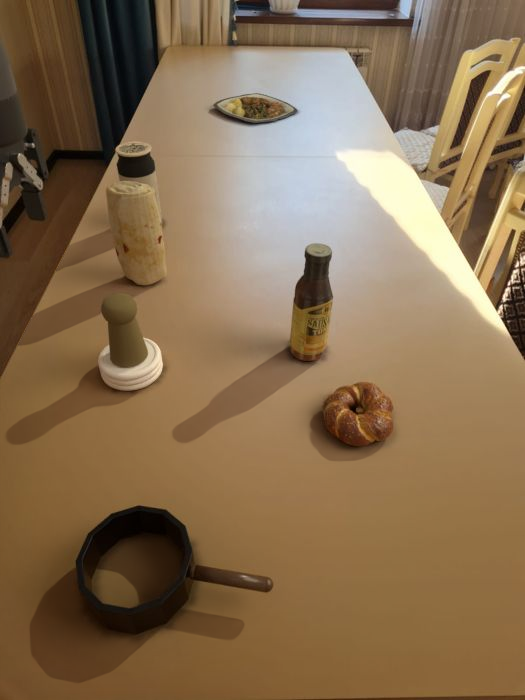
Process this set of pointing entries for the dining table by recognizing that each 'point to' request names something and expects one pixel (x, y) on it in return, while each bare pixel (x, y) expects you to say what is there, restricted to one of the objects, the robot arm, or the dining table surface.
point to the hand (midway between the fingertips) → (21, 236)
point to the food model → (137, 231)
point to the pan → (175, 595)
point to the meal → (255, 108)
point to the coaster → (131, 369)
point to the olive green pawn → (123, 331)
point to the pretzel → (358, 414)
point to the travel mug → (137, 165)
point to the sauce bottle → (312, 305)
